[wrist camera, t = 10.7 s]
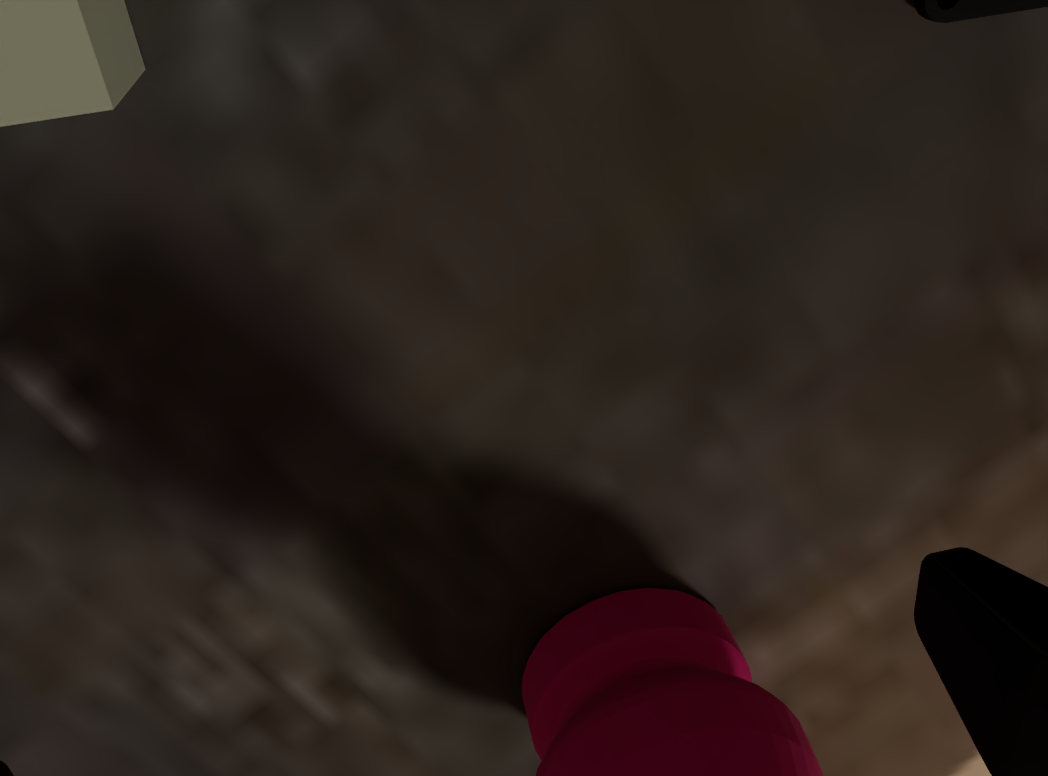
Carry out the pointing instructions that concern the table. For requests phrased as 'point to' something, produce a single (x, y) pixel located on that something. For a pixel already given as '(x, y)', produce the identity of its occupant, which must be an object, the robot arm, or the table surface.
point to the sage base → (64, 58)
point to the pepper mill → (654, 695)
